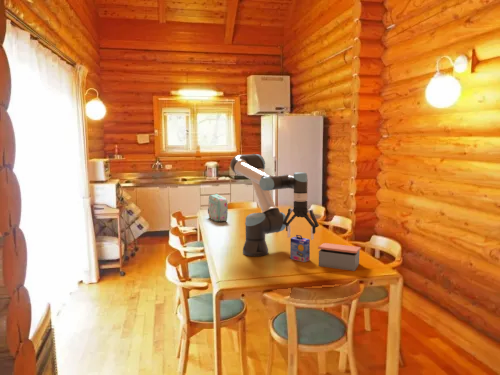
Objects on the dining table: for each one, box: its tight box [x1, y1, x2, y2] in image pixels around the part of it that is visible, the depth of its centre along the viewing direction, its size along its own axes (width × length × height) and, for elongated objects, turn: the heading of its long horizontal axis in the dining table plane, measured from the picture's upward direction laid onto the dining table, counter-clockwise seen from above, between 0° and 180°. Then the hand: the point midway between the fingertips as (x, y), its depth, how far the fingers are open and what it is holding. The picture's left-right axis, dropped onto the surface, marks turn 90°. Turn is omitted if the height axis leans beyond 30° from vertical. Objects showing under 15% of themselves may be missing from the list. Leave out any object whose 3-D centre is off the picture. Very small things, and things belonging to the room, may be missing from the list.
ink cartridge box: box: [289, 234, 311, 263], centre depth 213 cm, size 10×6×14 cm, turn 51°
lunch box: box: [207, 193, 229, 223], centre depth 318 cm, size 27×10×21 cm, turn 25°
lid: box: [317, 242, 362, 253], centre depth 203 cm, size 20×12×1 cm, turn 64°
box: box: [318, 249, 360, 272], centre depth 204 cm, size 19×12×8 cm, turn 64°
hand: (300, 238), depth 212 cm, fingers open, 13 cm apart
